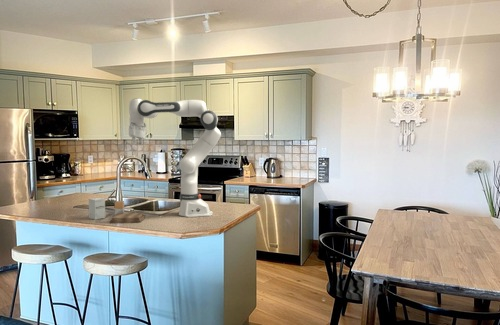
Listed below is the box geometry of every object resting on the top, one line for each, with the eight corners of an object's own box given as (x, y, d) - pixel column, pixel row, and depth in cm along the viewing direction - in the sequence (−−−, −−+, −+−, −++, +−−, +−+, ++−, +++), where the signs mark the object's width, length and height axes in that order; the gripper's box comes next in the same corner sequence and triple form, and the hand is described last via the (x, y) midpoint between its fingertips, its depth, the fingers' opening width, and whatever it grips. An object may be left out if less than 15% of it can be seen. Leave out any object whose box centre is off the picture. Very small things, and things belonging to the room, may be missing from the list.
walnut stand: (145, 216, 242) (145, 212, 242) (140, 222, 226) (140, 217, 226) (117, 217, 241) (116, 212, 241) (109, 223, 225) (109, 218, 225)
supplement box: (95, 220, 234) (94, 200, 233) (88, 218, 238) (88, 198, 237) (105, 217, 239) (105, 198, 238) (99, 216, 244) (98, 197, 243)
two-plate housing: (124, 214, 250) (124, 201, 249) (122, 215, 246) (122, 202, 245) (116, 214, 250) (116, 201, 249) (115, 215, 246) (114, 202, 245)
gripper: (135, 121, 233) (136, 143, 233) (146, 125, 254) (147, 145, 253) (125, 121, 234) (126, 143, 233) (137, 125, 254) (138, 146, 254)
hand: (137, 144), depth 243 cm, fingers open, 8 cm apart
